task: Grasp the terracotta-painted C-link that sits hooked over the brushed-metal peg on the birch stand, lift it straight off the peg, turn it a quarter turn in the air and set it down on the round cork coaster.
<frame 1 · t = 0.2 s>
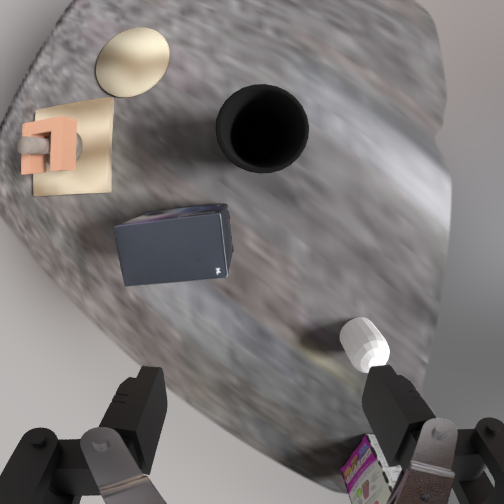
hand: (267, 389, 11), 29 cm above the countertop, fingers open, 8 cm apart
cup: (256, 141, 37), on the countertop
coaster: (132, 61, 34), on the countertop
c link: (56, 147, 32), point 4 cm above the countertop, touching peg stand
peg stand: (72, 148, 36), on the countertop
candy bar box: (362, 451, 50), on the countertop
small box: (188, 231, 39), on the countertop
capsule: (356, 333, 43), on the countertop
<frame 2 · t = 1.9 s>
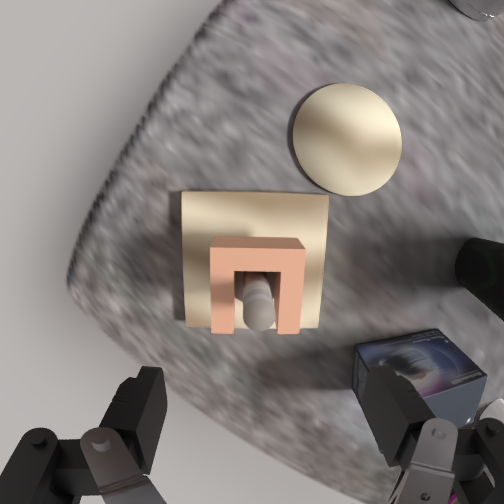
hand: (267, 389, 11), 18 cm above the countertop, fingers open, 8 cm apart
cup: (472, 262, 29), on the countertop
coaster: (349, 138, 26), on the countertop
c link: (255, 276, 24), point 4 cm above the countertop, touching peg stand
peg stand: (253, 260, 28), on the countertop
candy bar box: (459, 491, 43), on the countertop
small box: (395, 357, 32), on the countertop
capsule: (491, 410, 36), on the countertop
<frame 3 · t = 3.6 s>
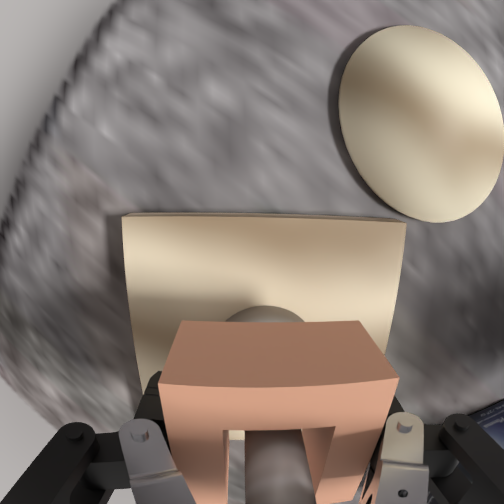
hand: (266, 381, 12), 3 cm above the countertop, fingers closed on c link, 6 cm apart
coaster: (433, 120, 13), on the countertop
c link: (268, 392, 11), point 4 cm above the countertop, touching gripper, peg stand
peg stand: (262, 338, 15), on the countertop
small box: (453, 438, 19), on the countertop
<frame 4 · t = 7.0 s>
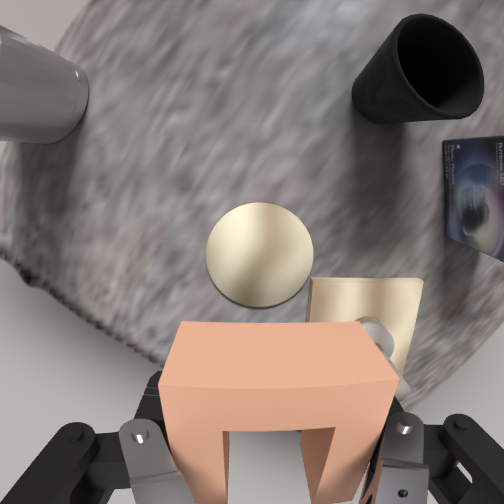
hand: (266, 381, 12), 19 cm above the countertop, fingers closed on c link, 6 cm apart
cup: (377, 97, 27), on the countertop
coaster: (259, 256, 30), on the countertop
c link: (268, 393, 11), point 20 cm above the countertop, touching gripper
peg stand: (360, 331, 32), on the countertop
small box: (463, 188, 29), on the countertop
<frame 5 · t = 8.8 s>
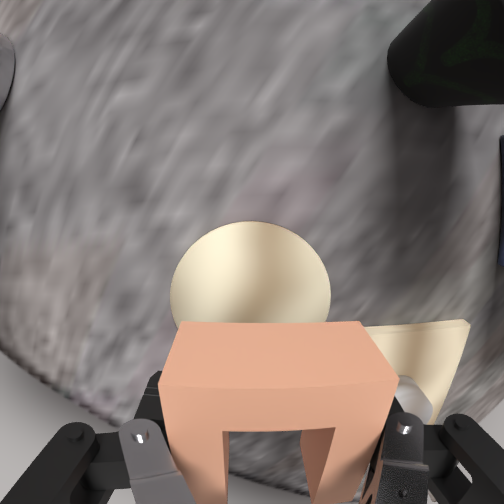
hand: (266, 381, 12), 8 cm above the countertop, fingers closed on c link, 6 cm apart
cup: (421, 69, 17), on the countertop
coaster: (250, 300, 20), on the countertop
c link: (268, 393, 11), point 9 cm above the countertop, touching gripper
peg stand: (385, 390, 23), on the countertop
when the fingers open (1 cm above the countertop, at t = 10.5 s): c link drops 2 cm, resting on coaster.
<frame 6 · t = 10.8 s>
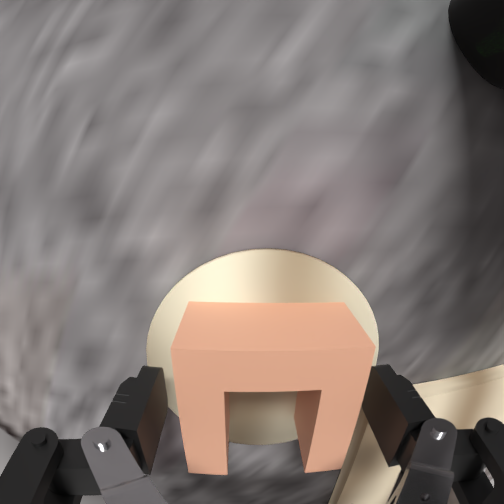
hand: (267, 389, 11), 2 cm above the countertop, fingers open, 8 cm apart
cup: (487, 39, 10), on the countertop
coaster: (264, 362, 13), on the countertop
c link: (264, 368, 13), resting on coaster
peg stand: (427, 447, 16), on the countertop
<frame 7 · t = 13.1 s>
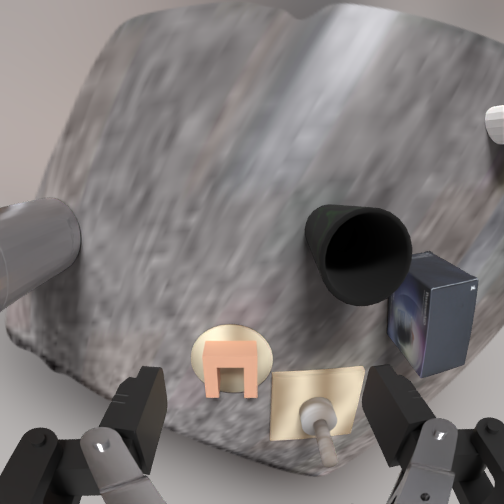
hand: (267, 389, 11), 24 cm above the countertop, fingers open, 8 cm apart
cup: (329, 229, 35), on the countertop
coaster: (231, 359, 38), on the countertop
c link: (231, 361, 38), resting on coaster
peg stand: (314, 403, 41), on the countertop
small box: (407, 293, 37), on the countertop
capsule: (496, 125, 32), on the countertop
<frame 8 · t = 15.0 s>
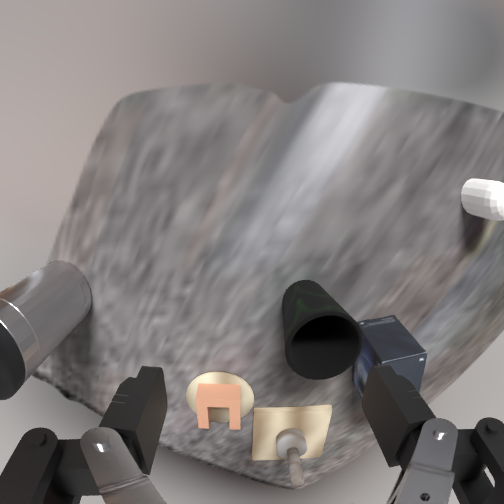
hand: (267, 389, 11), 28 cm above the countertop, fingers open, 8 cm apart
cup: (303, 299, 41), on the countertop
coaster: (220, 397, 44), on the countertop
c link: (219, 399, 44), resting on coaster
peg stand: (289, 432, 47), on the countertop
small box: (372, 348, 43), on the countertop
capsule: (473, 196, 38), on the countertop
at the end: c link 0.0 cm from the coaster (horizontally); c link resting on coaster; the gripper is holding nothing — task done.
